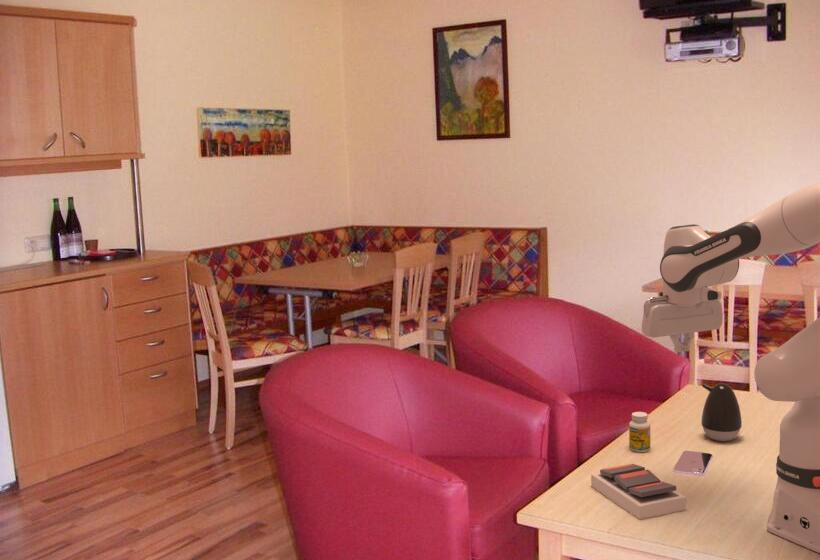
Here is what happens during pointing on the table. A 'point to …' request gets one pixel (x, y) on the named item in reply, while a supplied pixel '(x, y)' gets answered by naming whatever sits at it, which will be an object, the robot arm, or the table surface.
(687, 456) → the mobile phone
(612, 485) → the rocker switch panel
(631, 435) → the supplement bottle
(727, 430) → the pump dispenser
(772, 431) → the table surface
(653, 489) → the rocker
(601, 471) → the block
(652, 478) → the rocker
